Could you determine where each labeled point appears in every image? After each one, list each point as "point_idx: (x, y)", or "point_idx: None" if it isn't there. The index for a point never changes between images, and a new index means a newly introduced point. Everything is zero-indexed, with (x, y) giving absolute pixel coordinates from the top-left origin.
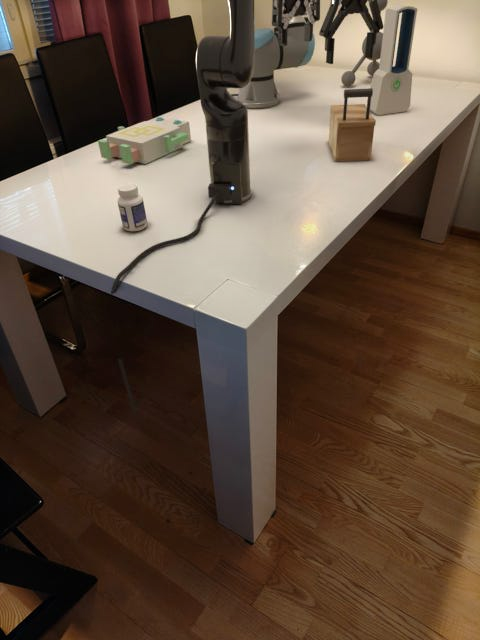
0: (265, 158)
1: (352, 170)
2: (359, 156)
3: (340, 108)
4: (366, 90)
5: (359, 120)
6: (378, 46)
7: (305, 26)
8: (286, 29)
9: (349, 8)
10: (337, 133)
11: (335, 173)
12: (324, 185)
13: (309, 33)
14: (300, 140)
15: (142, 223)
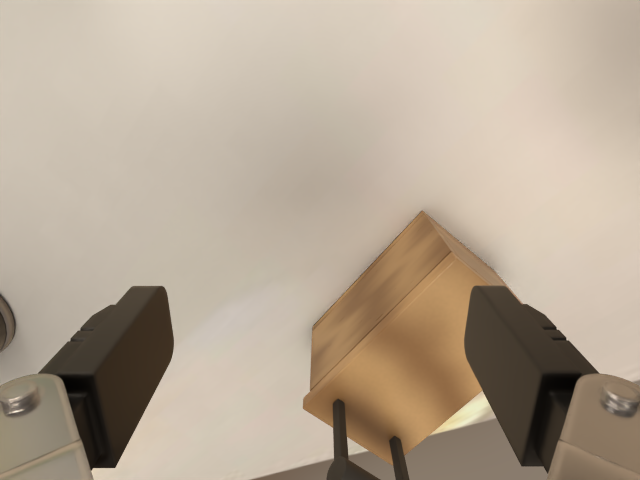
0: (175, 174)
1: (299, 387)
2: None
3: (441, 313)
4: None
5: (365, 435)
6: None
7: (531, 378)
8: (100, 464)
9: None
10: (311, 376)
11: (255, 374)
12: (187, 401)
13: (490, 390)
14: (377, 123)
15: None
